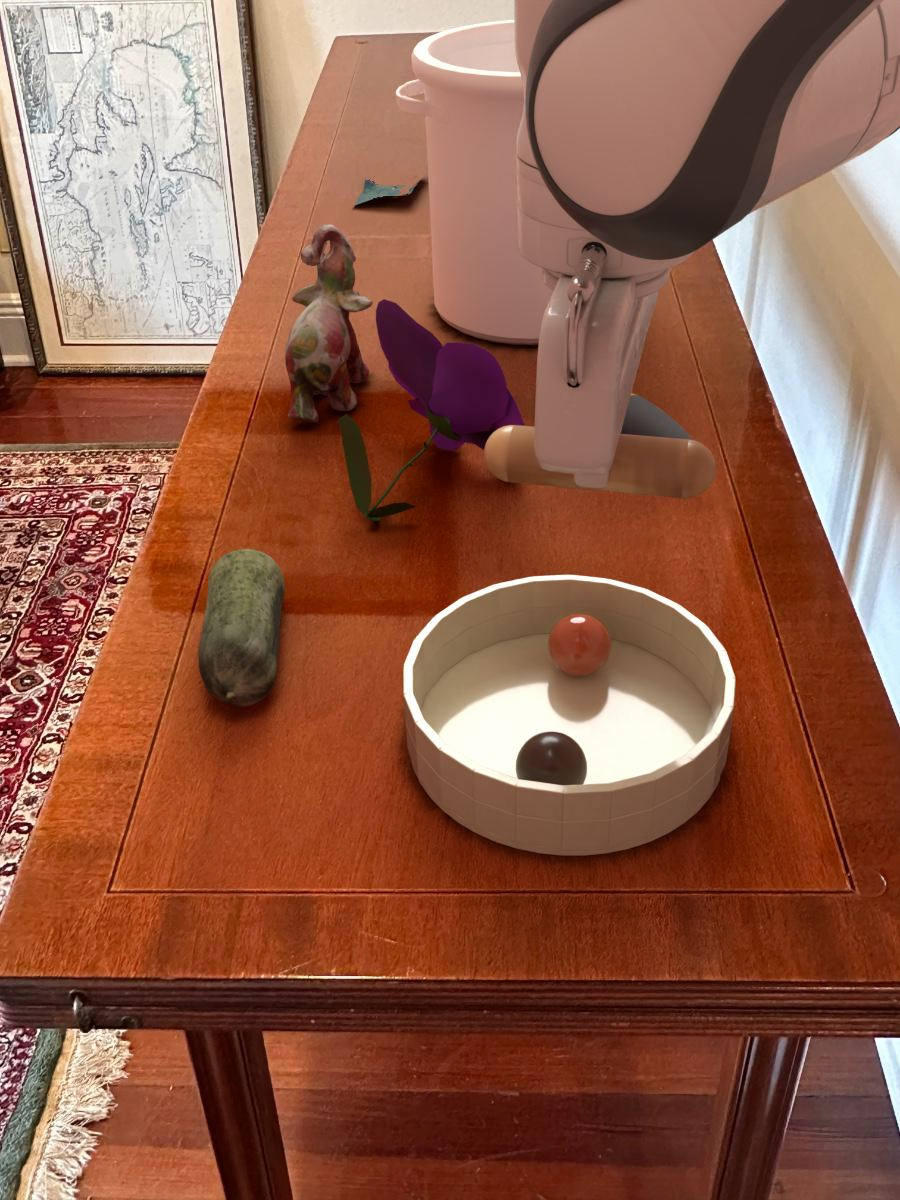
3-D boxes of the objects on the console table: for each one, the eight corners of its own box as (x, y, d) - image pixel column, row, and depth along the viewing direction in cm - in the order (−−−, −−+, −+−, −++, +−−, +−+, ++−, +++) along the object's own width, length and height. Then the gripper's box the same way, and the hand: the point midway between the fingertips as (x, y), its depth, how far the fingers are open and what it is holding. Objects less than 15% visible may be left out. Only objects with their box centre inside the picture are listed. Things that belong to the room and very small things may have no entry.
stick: (715, 481, 67) (720, 431, 65) (710, 512, 64) (716, 461, 62) (491, 461, 69) (489, 412, 67) (479, 490, 67) (477, 440, 65)
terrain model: (412, 208, 147) (410, 192, 146) (351, 209, 149) (349, 194, 148) (432, 175, 157) (431, 160, 156) (375, 176, 159) (373, 162, 158)
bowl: (733, 653, 78) (741, 592, 75) (716, 881, 63) (726, 817, 60) (448, 620, 82) (445, 560, 79) (370, 827, 67) (363, 764, 64)
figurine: (398, 383, 110) (386, 223, 101) (317, 438, 103) (296, 271, 94) (333, 364, 114) (316, 208, 105) (250, 416, 106) (224, 253, 97)
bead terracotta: (613, 652, 78) (616, 603, 75) (605, 693, 75) (608, 643, 72) (552, 645, 78) (553, 597, 76) (542, 685, 75) (543, 635, 73)
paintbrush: (732, 461, 97) (738, 406, 94) (692, 483, 95) (697, 428, 92) (561, 382, 110) (561, 331, 106) (521, 400, 107) (521, 348, 104)
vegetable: (216, 595, 85) (205, 537, 82) (289, 590, 85) (281, 532, 82) (196, 729, 74) (183, 668, 71) (280, 723, 74) (270, 662, 71)
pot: (398, 355, 115) (379, 79, 100) (418, 266, 133) (404, 20, 118) (666, 353, 113) (688, 72, 98) (650, 263, 131) (666, 13, 116)
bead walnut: (590, 772, 69) (592, 721, 67) (580, 823, 66) (582, 772, 64) (522, 762, 70) (522, 712, 68) (509, 812, 67) (509, 762, 65)
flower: (466, 600, 92) (567, 468, 95) (389, 490, 80) (507, 344, 83) (340, 530, 100) (436, 411, 103) (253, 422, 88) (364, 291, 91)
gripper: (649, 301, 49) (632, 574, 57) (691, 148, 64) (674, 380, 73) (498, 292, 50) (503, 561, 58) (576, 145, 66) (571, 373, 74)
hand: (598, 459), depth 66 cm, fingers closed on stick, 3 cm apart
